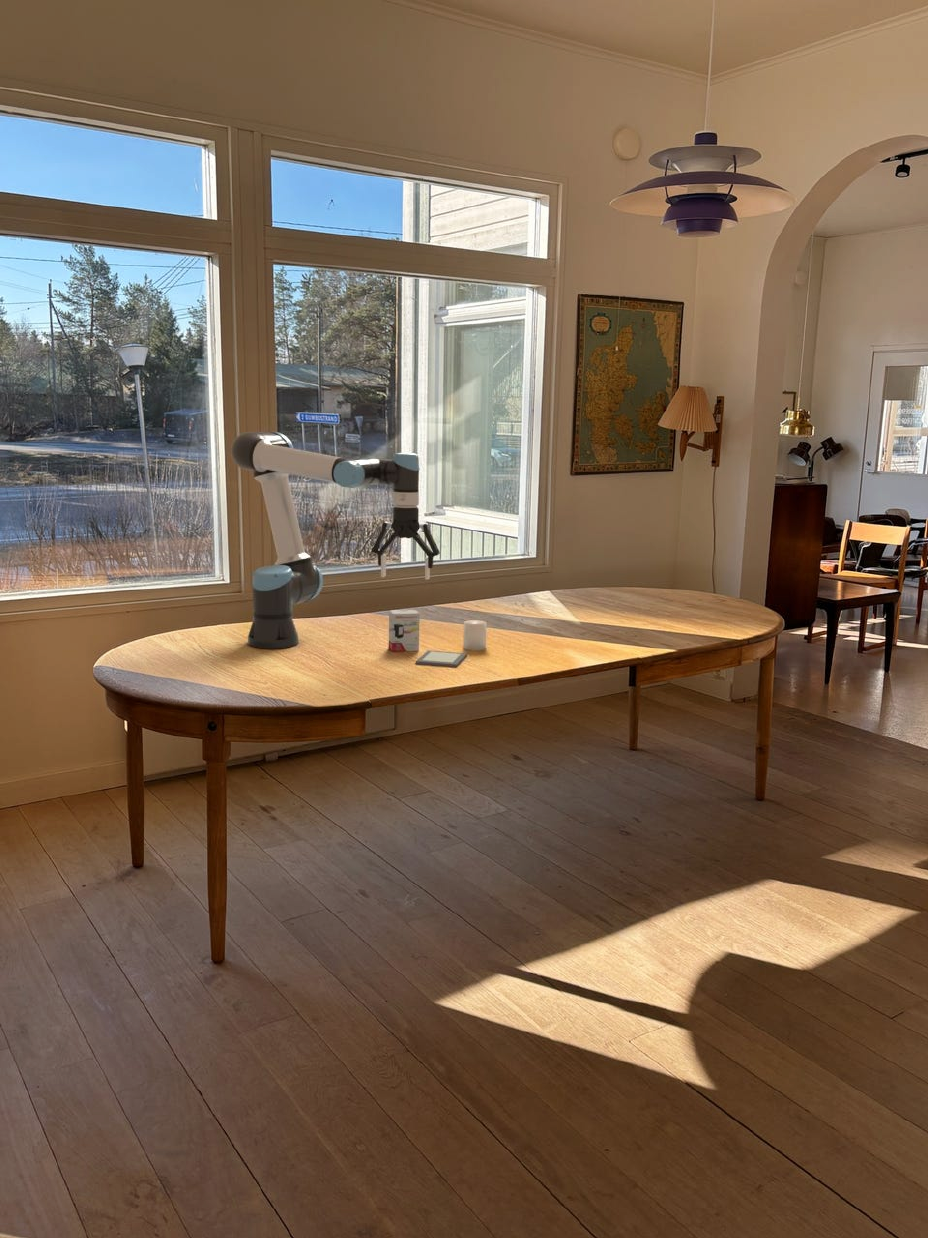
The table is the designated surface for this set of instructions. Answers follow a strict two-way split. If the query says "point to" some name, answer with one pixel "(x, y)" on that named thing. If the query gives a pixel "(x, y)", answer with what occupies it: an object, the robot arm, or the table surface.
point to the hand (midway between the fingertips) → (405, 577)
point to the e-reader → (441, 658)
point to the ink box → (404, 630)
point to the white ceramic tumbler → (474, 635)
